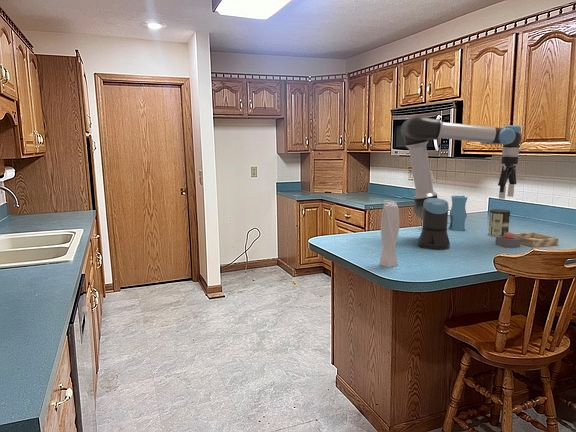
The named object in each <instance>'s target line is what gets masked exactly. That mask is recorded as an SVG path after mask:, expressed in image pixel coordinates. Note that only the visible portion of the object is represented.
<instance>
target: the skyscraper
mask: <svg viewBox="0 0 576 432" xmlns="http://www.w3.org/2000/svg"><path fill="white" fill-rule="evenodd" d="M382 202H383V207H382V212H381V220H380V238H381V245H382V251H381V256H380V260H379V266H383V267H386V268H392V267H395V266H398V258H397V252H396V251H397V250H396V243H397V242H398V241H397V240H398V237H399V233H400V212H399V205H398V204H397V202H396V201H394V200H390V199H385V200H382Z"/></svg>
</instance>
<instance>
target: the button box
mask: <svg viewBox="0 0 576 432" xmlns="http://www.w3.org/2000/svg"><path fill="white" fill-rule="evenodd" d="M494 242H495V244H494V245H497V246H499V247H501V248H502V247H503V248H506V249H507V248H509V249H511V248H512V249H513V248H521V245H522V244H521V239H519V238H515V237H513V239H505V238H503V236H497V237H495V240H494Z"/></svg>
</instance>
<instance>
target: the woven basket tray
mask: <svg viewBox="0 0 576 432" xmlns="http://www.w3.org/2000/svg"><path fill="white" fill-rule="evenodd" d="M513 237H515V238H519V239H521V244H520V245H523V246H526V247H529V248H543V247H554V246H559V238H557V237H555V236H549V235H546V234H542V233H538V232H533V231H531V232H516V233H515V232H514V233H513Z"/></svg>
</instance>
